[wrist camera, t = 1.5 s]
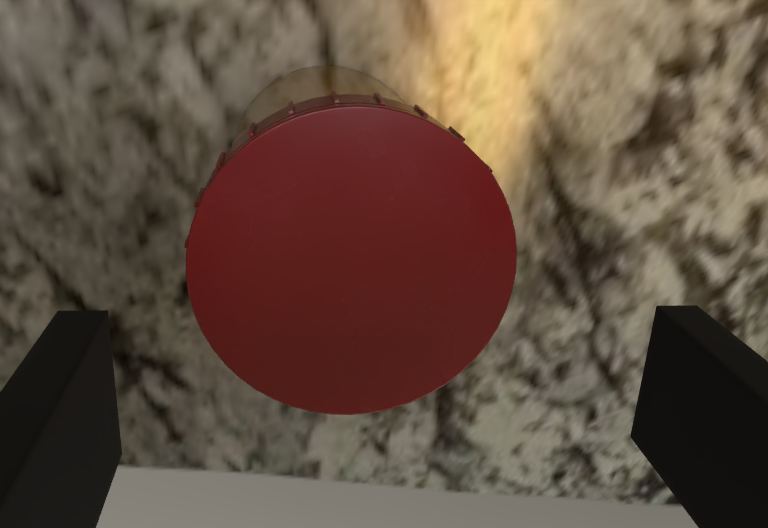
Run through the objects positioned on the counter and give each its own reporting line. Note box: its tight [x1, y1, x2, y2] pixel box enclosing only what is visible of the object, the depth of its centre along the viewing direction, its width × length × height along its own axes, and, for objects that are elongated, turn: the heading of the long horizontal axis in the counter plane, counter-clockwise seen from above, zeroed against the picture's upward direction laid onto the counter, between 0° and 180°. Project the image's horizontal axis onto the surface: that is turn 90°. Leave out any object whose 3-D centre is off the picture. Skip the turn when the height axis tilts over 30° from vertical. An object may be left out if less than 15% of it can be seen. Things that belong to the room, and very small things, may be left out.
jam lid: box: [185, 91, 517, 415], centre depth 18 cm, size 8×8×2 cm
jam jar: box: [232, 66, 407, 145], centre depth 22 cm, size 7×7×11 cm
